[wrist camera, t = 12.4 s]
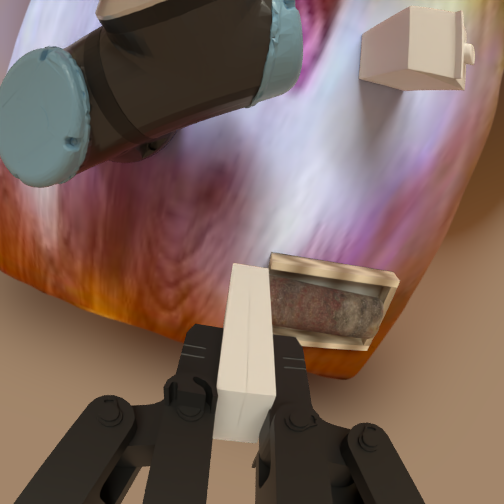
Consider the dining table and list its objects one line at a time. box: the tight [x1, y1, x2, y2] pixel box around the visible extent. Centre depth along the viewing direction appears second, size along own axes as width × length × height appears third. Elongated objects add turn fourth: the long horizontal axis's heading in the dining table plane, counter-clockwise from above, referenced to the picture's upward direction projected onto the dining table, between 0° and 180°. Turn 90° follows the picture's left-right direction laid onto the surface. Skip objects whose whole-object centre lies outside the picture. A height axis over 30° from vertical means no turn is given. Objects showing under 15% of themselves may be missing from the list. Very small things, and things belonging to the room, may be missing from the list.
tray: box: [268, 252, 400, 351], centre depth 49 cm, size 21×15×3 cm
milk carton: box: [359, 6, 475, 91], centre depth 25 cm, size 7×7×19 cm
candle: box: [269, 274, 384, 339], centre depth 46 cm, size 8×7×20 cm
